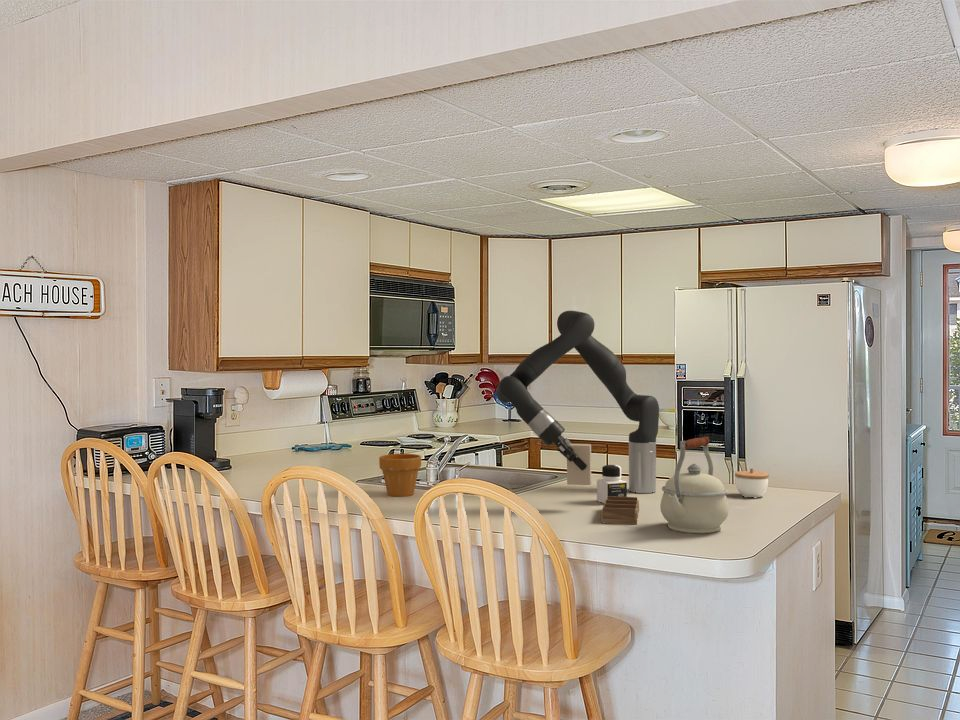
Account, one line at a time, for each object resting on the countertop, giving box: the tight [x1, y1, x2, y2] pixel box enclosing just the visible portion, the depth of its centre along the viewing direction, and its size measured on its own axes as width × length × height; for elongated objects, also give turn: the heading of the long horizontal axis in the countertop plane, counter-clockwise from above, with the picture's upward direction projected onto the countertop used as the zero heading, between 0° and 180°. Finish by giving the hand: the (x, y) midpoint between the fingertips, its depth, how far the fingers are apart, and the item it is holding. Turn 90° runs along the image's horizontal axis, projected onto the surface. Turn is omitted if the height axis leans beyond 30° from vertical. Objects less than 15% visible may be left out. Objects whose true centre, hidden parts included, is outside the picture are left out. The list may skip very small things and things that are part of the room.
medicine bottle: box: [596, 464, 628, 504], centre depth 275 cm, size 7×7×12 cm
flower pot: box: [378, 453, 422, 498], centre depth 290 cm, size 14×14×13 cm
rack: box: [600, 496, 640, 525], centre depth 253 cm, size 20×10×4 cm, turn 168°
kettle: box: [659, 436, 730, 534], centre depth 235 cm, size 25×18×25 cm
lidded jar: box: [734, 467, 769, 498], centre depth 286 cm, size 11×11×9 cm
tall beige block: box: [566, 443, 592, 486], centre depth 262 cm, size 4×7×12 cm, turn 78°
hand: (585, 467), depth 262 cm, fingers closed on tall beige block, 4 cm apart
